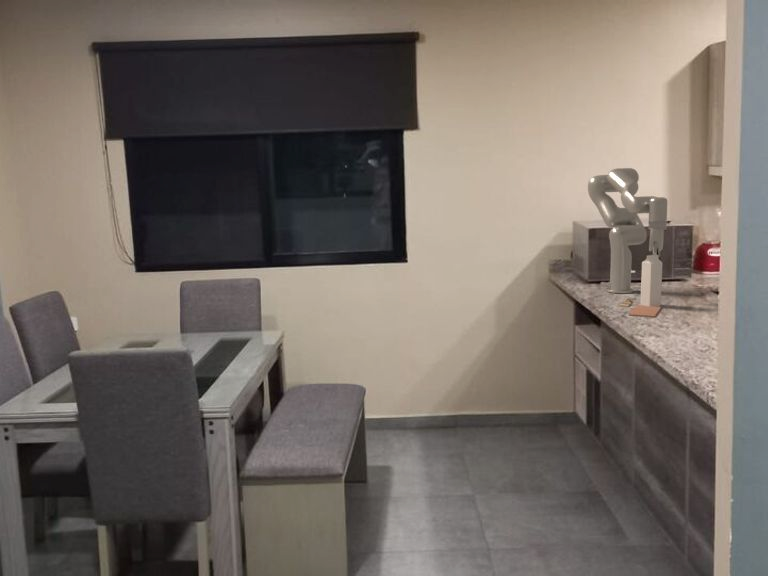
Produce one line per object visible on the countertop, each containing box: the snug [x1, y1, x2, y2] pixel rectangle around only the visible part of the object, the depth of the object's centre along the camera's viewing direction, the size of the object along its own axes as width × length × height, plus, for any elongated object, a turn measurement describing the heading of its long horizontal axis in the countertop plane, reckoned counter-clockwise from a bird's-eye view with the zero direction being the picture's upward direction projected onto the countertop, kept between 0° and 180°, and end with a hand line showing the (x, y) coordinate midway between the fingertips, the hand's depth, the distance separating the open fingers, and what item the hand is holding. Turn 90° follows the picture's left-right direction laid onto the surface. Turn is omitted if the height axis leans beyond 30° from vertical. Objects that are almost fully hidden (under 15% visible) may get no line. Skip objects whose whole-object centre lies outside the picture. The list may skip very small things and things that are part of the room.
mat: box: [628, 304, 662, 318], centre depth 314 cm, size 10×20×1 cm, turn 153°
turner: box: [618, 298, 632, 308], centre depth 332 cm, size 15×4×1 cm, turn 153°
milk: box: [639, 254, 663, 307], centre depth 325 cm, size 6×6×22 cm
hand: (656, 266), depth 335 cm, fingers closed
